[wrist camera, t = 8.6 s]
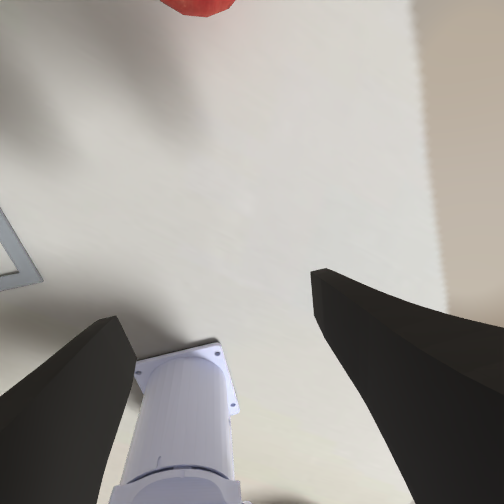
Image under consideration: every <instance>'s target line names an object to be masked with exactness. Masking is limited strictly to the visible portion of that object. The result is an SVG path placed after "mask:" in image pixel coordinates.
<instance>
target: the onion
mask: <svg viewBox="0 0 504 504" xmlns="http://www.w3.org/2000/svg"><path fill="white" fill-rule="evenodd" d="M160 1H161V2H163V3H165V4H166V5H168V6H170V7H171V8H173V9H175V10H176V11H178V12H179V13H181V14H183V15H189V16H200V17H209V16H211V15H214V14H216V13H219V12H221V11H224V10H226V9H229V7H230V6H231V5H232V4H233V3H234V1H235V0H160Z"/></svg>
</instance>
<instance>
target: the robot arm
mask: <svg viewBox="0 0 504 504" xmlns="http://www.w3.org/2000/svg"><path fill="white" fill-rule="evenodd" d="M310 273H311V285H312V296H313V308H314V316H315V318H316V321H317V323H318V325H319V327H320V329H321V331H322V333H323V336H324V338H325V339H326V341H327V343H328V344H329V346H330V347H331V349H332V351H333V352H334V354H335V355H336V357H337V359H338V360H339V362H340V363H341V365H342V366H343V368H344V369H345V371H346V373H347V374H348V376H349V377H350V379H351V380H352V382H353V384H354V385H355V387H356V388H357V390H358V391H359V393H360V395H361V397H362V398H363V400H364V402H365V403H366V405H367V407H368V409H369V411H370V413H371V415H372V417H373V418H374V420H375V422H376V424H377V426H378V428H379V430H380V432H381V434H382V436H383V438H384V440H385V442H386V444H387V446H388V448H389V450H390V452H391V454H392V456H393V458H394V460H395V462H396V464H397V466H398V468H399V470H400V472H401V474H402V476H403V478H404V480H405V482H406V484H407V487H408V489H409V491H410V493H411V495H412V497H413V499H414V501H415V503H416V504H504V328H502V327H497V326H493V325H489V324H484V323H481V322H476V321H472V320H468V319H464V318H459V317H456V316H452V315H449V314H445V313H442V312H439V311H435V310H432V309H429V308H425V307H422V306H419V305H416V304H413V303H410V302H407V301H404V300H402V299H399V298H396V297H393V296H391V295H388V294H386V293H383V292H381V291H378V290H376V289H373V288H371V287H369V286H366V285H364V284H362V283H359V282H357V281H355V280H353V279H350V278H348V277H346V276H344V275H341V274H339V273H337V272H335V271H332V270H330V269H327V268H325V269H320V270H316V271H311V272H310ZM216 352H218V353H216ZM136 360H137V357H136V355H135V353H134V351H133V349H132V347H131V345H130V343H129V340H128V338H127V336H126V334H125V332H124V330H123V328H122V326H121V324H120V322H119V320H118V318H117V316H113V317H109V318H104V319H100V320H98V321H96V322H95V323H93V324H92V325H91V326H89V327H88V328H87V329H85V330H84V331H83V332H81V333H80V334H79V335H78V336H76V337H75V338H74V339H73V340H71V341H70V342H69V343H68V344H66V345H65V346H64V347H63V348H61V349H60V350H59V351H58V352H56V353H55V354H54V355H53V356H52V357H50V358H49V359H48V360H47V361H45V362H44V363H43V364H42V365H40V366H39V367H38V368H37V369H35V370H34V371H33V372H31V373H30V374H29V375H28V376H26V377H25V378H24V379H22V380H21V381H20V382H18V383H17V384H16V385H15V386H13V387H12V388H11V389H9V390H8V391H7V392H6V393H4V394H3V395H2V396H0V504H96V503H97V499H98V495H99V490H100V486H101V482H102V478H103V474H104V471H105V467H106V464H107V460H108V457H109V454H110V451H111V448H112V445H113V442H114V439H115V436H116V433H117V430H118V427H119V424H120V421H121V418H122V415H123V412H124V409H125V406H126V403H127V399H128V396H129V393H130V390H131V387H132V382H133V377H135V379H136V381H137V383H138V385H139V387H140V389H141V391H142V393H143V395H144V397H143V400H142V404H141V408H140V411H139V415H138V419H137V422H136V426H135V430H134V433H133V437H132V441H131V444H130V448H129V452H128V455H127V459H126V463H125V466H124V470H123V474H122V477H121V481H120V485H118V486H114V487H113V490H112V493H111V497H110V500H109V504H252V503H251V502H250V501H241V489H240V481H238V480H235V474H234V460H233V445H232V431H231V415H235V414H238V413H239V411H240V407H239V404H238V400H237V397H236V393H235V390H234V387H233V383H232V380H231V376H230V373H229V369H228V366H227V363H226V359H225V356H224V352H223V349H222V345H221V344H220V343H217V342H216V343H211V344H207V345H203V346H198V347H194V348H190V349H186V350H182V351H178V352H173V353H169V354H165V355H161V356H157V357H153V358H148V359H144V360H140V361H136ZM139 371H140V372H139Z"/></svg>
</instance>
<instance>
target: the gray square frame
mask: <svg viewBox="0 0 504 504" xmlns="http://www.w3.org/2000/svg"><path fill="white" fill-rule="evenodd" d="M0 242H1V244H2V246H3V247H4V249H5V250H6V252H7V254H8V255H9V257H10V258H11V260H12V262H13V263H14V265H15V266H16V268H17V270H18V271H19V273H14V274H10V275H5V276H0V291H3V290H8V289H13V288H17V287H22V286H27V285H31V284H36V283H41V282H43V279H42V277H41V276H40V274H39V272H38V271H37V269H36V267H35V266H34V264H33V262H32V261H31V259H30V257H29V255H28V254H27V252H26V250H25V249H24V247H23V245H22V244H21V242H20V240H19V239H18V237H17V235H16V234H15V232H14V230H13V229H12V227H11V225H10V223H9V222H8V220H7V218H6V217H5V215H4V213H3V212H2V210H1V208H0Z"/></svg>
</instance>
